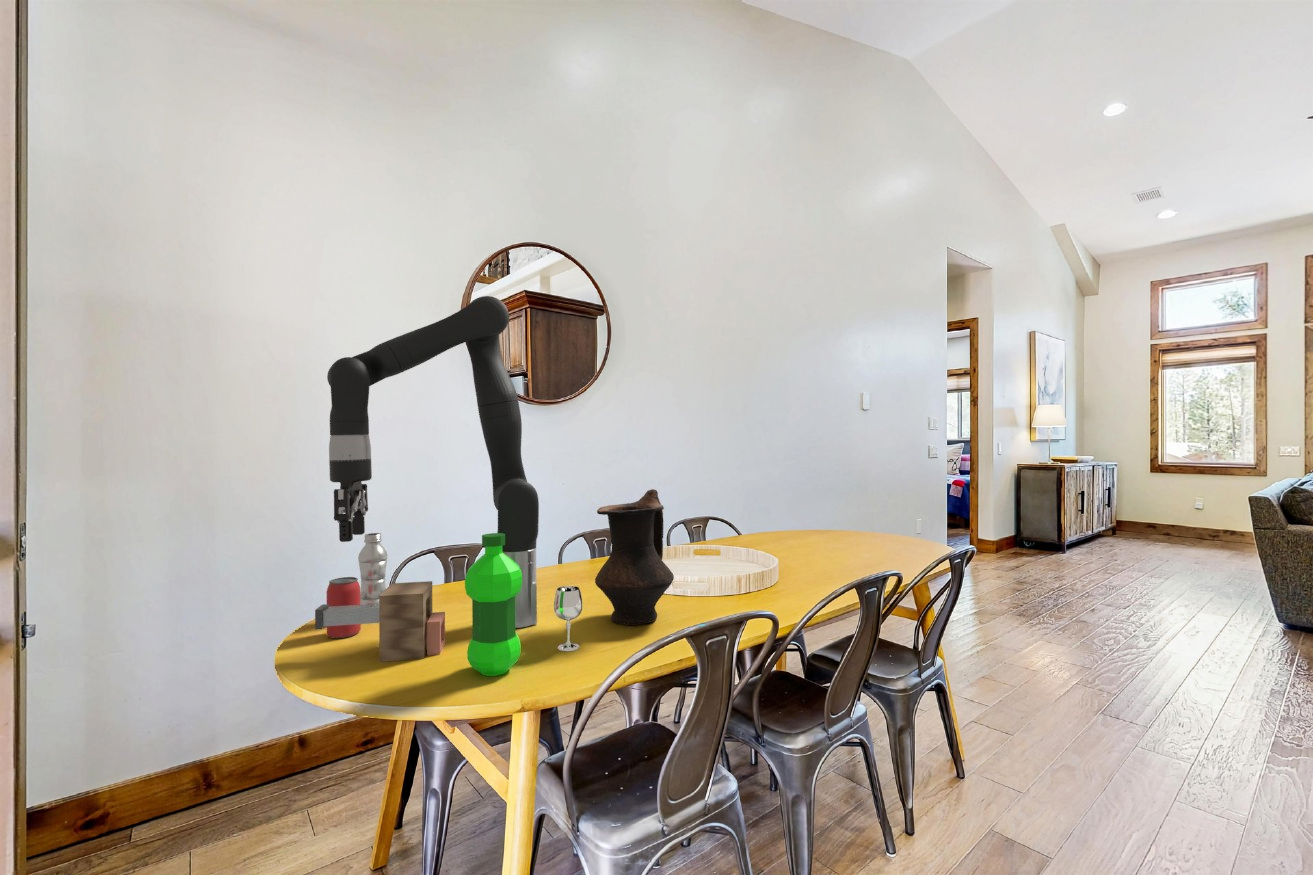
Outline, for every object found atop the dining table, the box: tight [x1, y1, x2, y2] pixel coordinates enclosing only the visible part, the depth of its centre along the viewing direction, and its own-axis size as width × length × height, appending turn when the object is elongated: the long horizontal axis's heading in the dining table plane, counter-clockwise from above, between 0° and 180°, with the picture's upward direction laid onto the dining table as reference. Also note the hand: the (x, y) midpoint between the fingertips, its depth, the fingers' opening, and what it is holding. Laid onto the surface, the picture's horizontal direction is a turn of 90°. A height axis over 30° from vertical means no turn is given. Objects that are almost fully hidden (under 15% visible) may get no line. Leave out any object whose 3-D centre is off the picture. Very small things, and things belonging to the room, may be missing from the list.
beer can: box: [326, 576, 362, 639], centre depth 129 cm, size 7×7×12 cm
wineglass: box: [553, 585, 583, 652], centre depth 120 cm, size 6×6×12 cm
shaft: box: [314, 603, 379, 630], centre depth 117 cm, size 18×4×4 cm, turn 101°
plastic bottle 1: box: [357, 532, 388, 605], centre depth 141 cm, size 6×7×20 cm
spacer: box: [426, 611, 446, 656], centre depth 119 cm, size 2×7×7 cm, turn 12°
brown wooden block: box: [378, 580, 433, 663], centre depth 118 cm, size 8×10×13 cm
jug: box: [594, 488, 675, 626], centre depth 139 cm, size 21×18×30 cm
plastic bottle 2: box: [464, 532, 522, 677], centre depth 108 cm, size 10×10×25 cm
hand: (352, 537), depth 118 cm, fingers open, 8 cm apart
